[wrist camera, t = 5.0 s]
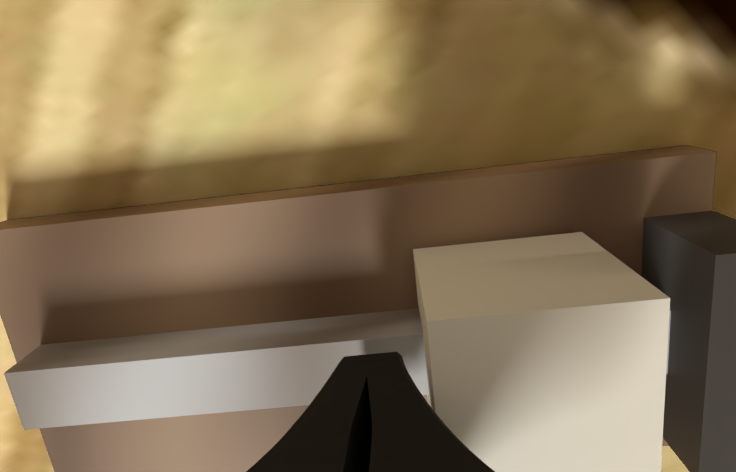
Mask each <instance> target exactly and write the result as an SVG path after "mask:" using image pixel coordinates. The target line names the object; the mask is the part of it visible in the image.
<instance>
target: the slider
mask: <svg viewBox="0 0 736 472" xmlns="http://www.w3.org/2000/svg"><path fill="white" fill-rule="evenodd" d="M413 256H414V266H415V277H416V287H417V298H418V306H419V311H420V317H421V323H422V329H423V340H424V351H425V361H426V372H427V382H428V393H429V395H427V402H428V404H429V405H430V406H431V408H432V409H433V410H434V412H435V413H436V414H437V415H438V417H439V418H440V419H441V420H442V421H443V422H444V424H445V425H446V426H447V427H448V428H449V429H450V430H451V432H452V433H453V434H454V435H455V436H456V437H457V438H458V439H459V440H460V441H461V442H462V443H463V444H464V445H465V446H466V447H467V448H468V449H469V450H470V451H471V452H473V453H474V454H475V455H476V456H477V457H478V458H479V459H481V460H482V461H483V462H484V463H485V464H486V465H487V466H489V467H490V468H491V469H492V470H494V471H495V472H661V460H662V441H663V423H664V405H665V386H666V368H667V350H668V331H669V313H670V298H669V297H668V296H667V295H665V294H664V293H663V292H661V291H660V290H659V289H657V288H656V287H655V286H653V285H652V284H651V283H649V282H648V281H647V280H645V279H644V278H643V277H641V276H640V275H639V274H637V273H636V272H635V271H633V270H632V269H631V268H629V267H628V266H627V265H625V264H624V263H623V262H621V261H620V260H619V259H617V258H616V257H615V256H613V255H612V254H611V253H609V252H608V251H607V250H605V249H604V248H603V247H601V246H600V245H599V244H597V243H596V242H595V241H593V240H592V239H591V238H589V237H588V236H587V235H585V234H584V233H583V232H575V233H566V234H556V235H546V236H536V237H527V238H517V239H507V240H497V241H487V242H478V243H468V244H458V245H448V246H439V247H429V248H419V249H413Z"/></svg>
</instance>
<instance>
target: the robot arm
mask: <svg viewBox="0 0 736 472" xmlns="http://www.w3.org/2000/svg"><path fill="white" fill-rule="evenodd" d="M246 472H495V471H494V470H492V469H491V468H490V467H489V466H487V465H486V464H485V463H484V462H483V461H482V460H481V459H479V458H478V457H477V456H476V455H475V454H474V453H473V452H471V451H470V450H469V449H468V448H467V447H466V446H465V445H464V444H463V443H462V442H461V441H460V440H459V439H458V438H457V437H456V436H455V435H454V434H453V433H452V432H451V430H450V429H449V428H448V427H447V426H446V425H445V424H444V422H443V421H442V420H441V419H440V418H439V417H438V415H437V414H436V413H435V412H434V410H433V409H432V408H431V406H430V405H429V404H428V402H427V401H426V400H425V398H424V397H423V395H422V394H421V392H420V391H419V389H418V388H417V386H416V385H415V383H414V382H413V380H412V378H411V376H410V374H409V373H408V371H407V369H406V366H405V364H404V361H403V358H402V355H400V354H399V353H398V352H387V353H376V354H366V355H355V356H345V357H343V359H342V360H341V361H340V362H339V364H338V365H337V367H336V368H335V370H334V371H333V373H332V374H331V376H330V377H329V379H328V380H327V382H326V383H325V384H324V386H323V387H322V389H321V390H320V391H319V393H318V394H317V395H316V397H315V398H314V399H313V401H312V402H311V403H310V405H309V406H308V407H307V409H306V410H305V411H304V413H303V414H302V415H301V416H300V417H299V418H298V420H297V421H296V422H295V423H294V424H293V425H292V427H291V428H290V429H289V430H288V431H287V432H286V434H285V435H284V436H283V437H282V438H281V439H280V440H279V441H278V442H277V443H276V444H275V445H274V446H273V447H272V448H271V449H270V450H269V451H268V452H267V453H266V454H265V455H264V456H263V457H262V458H261V459H260V460H259V461H258V462H256V463H255V464H254V465H253V466H252V467H251V468H250V469H249V470H247V471H246Z"/></svg>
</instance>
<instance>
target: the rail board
mask: <svg viewBox="0 0 736 472" xmlns="http://www.w3.org/2000/svg"><path fill="white" fill-rule="evenodd" d="M716 153H717V152H716V151H711V150H706V149H701V148H697V147H692V146H678V147H669V148H659V149H650V150H641V151H632V152H623V153H614V154H605V155H596V156H587V157H578V158H569V159H559V160H550V161H541V162H532V163H523V164H514V165H505V166H496V167H487V168H478V169H468V170H459V171H450V172H441V173H432V174H423V175H414V176H405V177H396V178H387V179H378V180H368V181H359V182H350V183H341V184H332V185H323V186H314V187H305V188H296V189H287V190H277V191H268V192H259V193H250V194H241V195H232V196H223V197H214V198H205V199H196V200H186V201H177V202H168V203H159V204H150V205H141V206H132V207H123V208H114V209H105V210H96V211H86V212H77V213H68V214H59V215H50V216H41V217H32V218H23V219H14V220H5V221H2V222H0V315H1V318H2V321H3V324H4V327H5V330H6V332H7V335H8V338H9V341H10V344H11V347H12V350H13V353H14V356H15V359H16V361H17V364H15V365H14V366H13V367H11V368H10V369H9V370H8V371H6V372H5V373H4V375H5V377H6V380H7V383H8V386H9V389H10V391H11V394H12V397H13V400H14V403H15V405H16V408H17V411H18V414H19V417H20V420H21V422H22V425H23V428H24V430H28V429H39V428H40V431H41V434H42V437H43V439H44V442H45V445H46V448H47V451H48V454H49V457H50V460H51V463H52V466H53V468H54V471H55V472H246V471H247V470H249V469H250V468H251V467H252V466H253V465H254V464H255V463H256V462H258V461H259V460H260V459H261V458H262V457H263V456H264V455H265V454H266V453H267V452H268V451H269V450H270V449H271V448H272V447H273V446H274V445H275V444H276V443H277V442H278V441H279V440H280V439H281V438H282V437H283V436H284V435H285V434H286V432H287V431H288V430H289V429H290V428H291V427H292V425H293V424H294V423H295V422H296V421H297V420H298V418H299V417H300V416H301V415H302V414H303V413H304V411H305V410H306V409H307V407H308V406H309V405H310V403H311V402H312V401H313V399H314V398H315V397H316V395H317V394H318V393H319V391H320V390H321V389H322V387H323V386H324V384H325V383H326V382H327V380H328V379H329V377H330V376H331V374H332V373H333V371H334V370H335V368H336V367H337V365H338V364H339V362H340V361H341V360H342V359H343V357H345V356H355V355H366V354H376V353H387V352H398V353H399V354H400V355H402V358H403V361H404V364H405V366H406V369H407V371H408V373H409V374H410V376H411V378H412V380H413V382H414V383H415V385H416V386H417V388H418V389H419V391H420V392H421V394H422V395H423V397H424V398H425V400H426V401H427V395H429V393H428V382H427V372H426V361H425V351H424V340H423V329H422V323H421V317H420V311H419V306H418V298H417V287H416V277H415V266H414V256H413V249H419V248H429V247H439V246H448V245H458V244H468V243H478V242H487V241H497V240H507V239H517V238H527V237H536V236H546V235H556V234H566V233H575V232H583V233H584V234H585V235H587V236H588V237H589V238H591V239H592V240H593V241H595V242H596V243H597V244H599V245H600V246H601V247H603V248H604V249H605V250H607V251H608V252H609V253H611V254H612V255H613V256H615V257H616V258H617V259H619V260H620V261H621V262H623V263H624V264H625V265H627V266H628V267H629V268H631V269H632V270H633V271H635V272H636V273H637V274H639V275H640V276H641V277H643V278H644V279H645V280H647V281H648V282H649V283H651V284H652V285H653V286H655V287H656V288H657V289H659V290H660V291H661V292H663V293H664V294H665V295H667V296H668V297H669V298H670V313H669V331H668V350H667V368H666V386H665V405H664V423H663V441H662V446H668V445H669V446H670V447H671V448H672V450H673V451H674V452H675V454H676V455H677V456H678V457H679V459H680V460H681V461H682V462H683V464H684V465H685V466H686V467H687V469H688V470H689V471H690V472H736V220H735V219H733V218H730V217H728V216H725V215H722V214H720V213H717V212H715V211H712V207H713V193H714V180H715V167H716Z"/></svg>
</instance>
